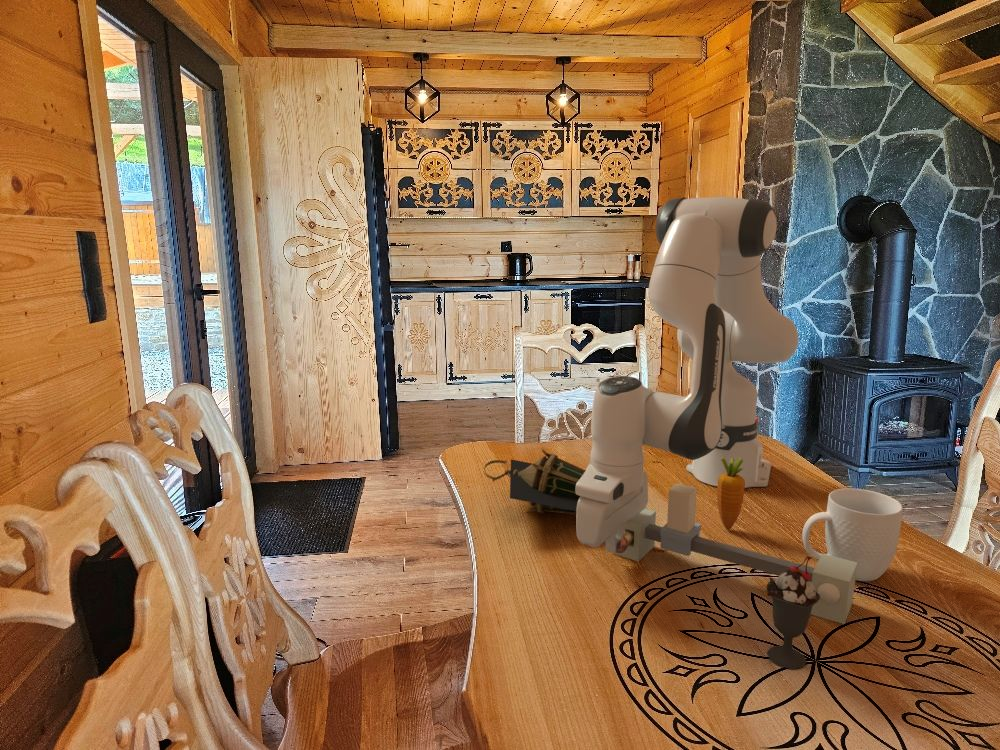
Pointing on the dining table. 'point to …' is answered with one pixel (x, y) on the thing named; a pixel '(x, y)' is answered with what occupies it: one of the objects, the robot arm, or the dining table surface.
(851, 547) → the mug
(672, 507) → the carriage
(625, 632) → the dining table surface
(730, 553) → the guide rail
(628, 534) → the cylinder
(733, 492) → the carrot
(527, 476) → the lantern
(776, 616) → the sundae
